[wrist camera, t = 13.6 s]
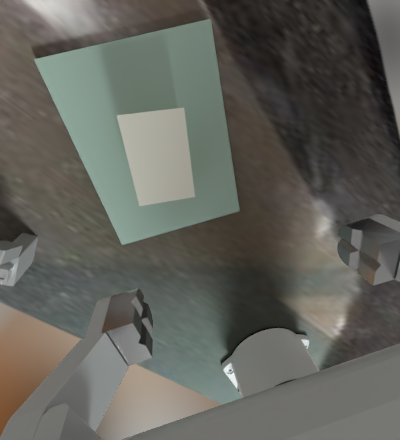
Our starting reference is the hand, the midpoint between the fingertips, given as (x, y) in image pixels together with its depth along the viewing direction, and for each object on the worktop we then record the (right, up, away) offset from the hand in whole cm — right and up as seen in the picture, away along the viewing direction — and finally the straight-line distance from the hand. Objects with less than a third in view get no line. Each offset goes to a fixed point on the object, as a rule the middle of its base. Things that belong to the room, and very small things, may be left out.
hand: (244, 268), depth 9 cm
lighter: (-22, 0, +18) cm, 29 cm away
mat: (-6, +10, +16) cm, 20 cm away
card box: (-6, +9, +16) cm, 19 cm away
